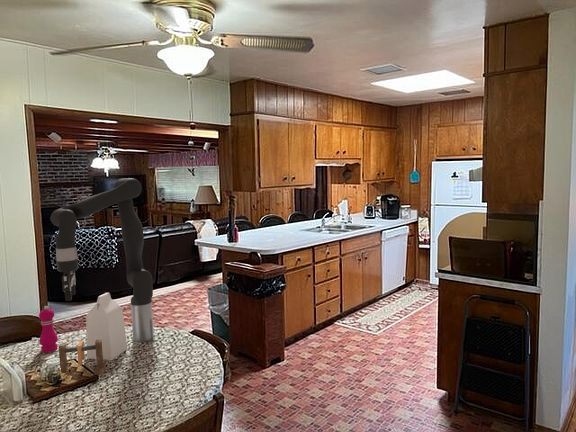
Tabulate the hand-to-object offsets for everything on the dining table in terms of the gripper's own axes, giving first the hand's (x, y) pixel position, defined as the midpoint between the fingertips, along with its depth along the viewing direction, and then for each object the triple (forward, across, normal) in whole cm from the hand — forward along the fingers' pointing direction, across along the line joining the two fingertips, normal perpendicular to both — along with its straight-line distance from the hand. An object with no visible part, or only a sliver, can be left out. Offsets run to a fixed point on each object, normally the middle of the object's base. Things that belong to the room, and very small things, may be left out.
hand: (70, 297), depth 178 cm
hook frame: (+27, -11, -4) cm, 30 cm away
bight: (+23, -11, -4) cm, 26 cm away
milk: (+28, +6, -12) cm, 31 cm away
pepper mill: (+28, +19, +14) cm, 36 cm away
